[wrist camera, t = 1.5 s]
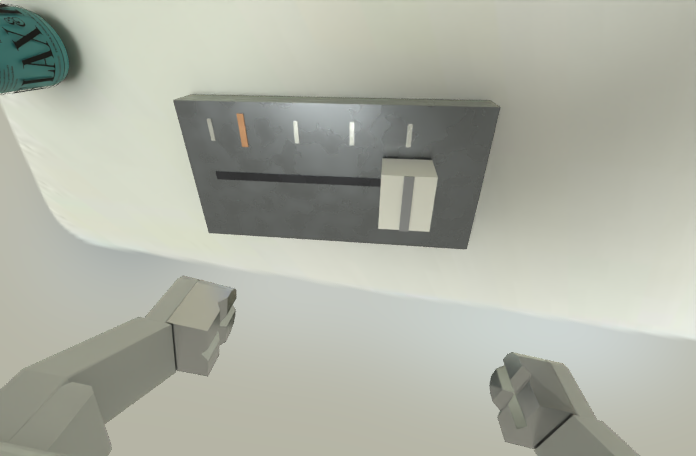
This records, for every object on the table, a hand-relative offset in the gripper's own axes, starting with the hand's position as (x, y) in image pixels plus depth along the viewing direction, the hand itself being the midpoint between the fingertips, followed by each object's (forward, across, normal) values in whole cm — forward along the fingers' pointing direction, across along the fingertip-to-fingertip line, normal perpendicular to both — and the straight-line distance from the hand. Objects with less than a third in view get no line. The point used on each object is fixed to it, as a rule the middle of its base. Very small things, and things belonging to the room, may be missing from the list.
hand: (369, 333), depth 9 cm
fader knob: (+22, -4, +4) cm, 22 cm away
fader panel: (+25, +3, +5) cm, 26 cm away
